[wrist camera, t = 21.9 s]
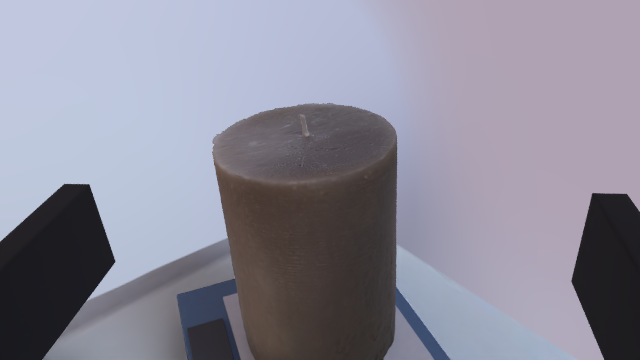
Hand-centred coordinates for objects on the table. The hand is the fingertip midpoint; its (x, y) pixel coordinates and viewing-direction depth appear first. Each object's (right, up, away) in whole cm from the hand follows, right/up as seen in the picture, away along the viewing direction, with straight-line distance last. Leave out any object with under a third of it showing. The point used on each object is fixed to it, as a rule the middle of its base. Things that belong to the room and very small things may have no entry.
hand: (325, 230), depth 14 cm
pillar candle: (0, -8, +20) cm, 21 cm away
